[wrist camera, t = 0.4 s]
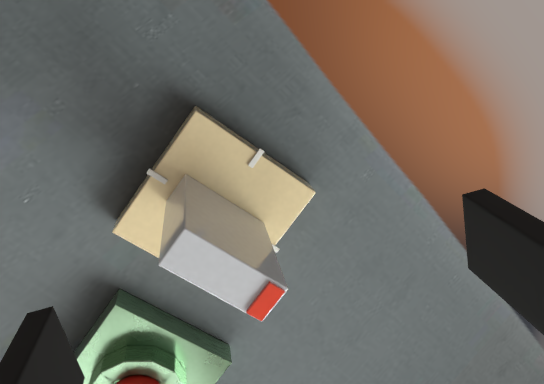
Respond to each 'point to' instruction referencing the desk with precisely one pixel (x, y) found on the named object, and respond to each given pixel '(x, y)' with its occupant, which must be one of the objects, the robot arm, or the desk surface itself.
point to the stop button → (138, 380)
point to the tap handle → (220, 249)
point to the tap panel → (214, 182)
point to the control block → (148, 347)
